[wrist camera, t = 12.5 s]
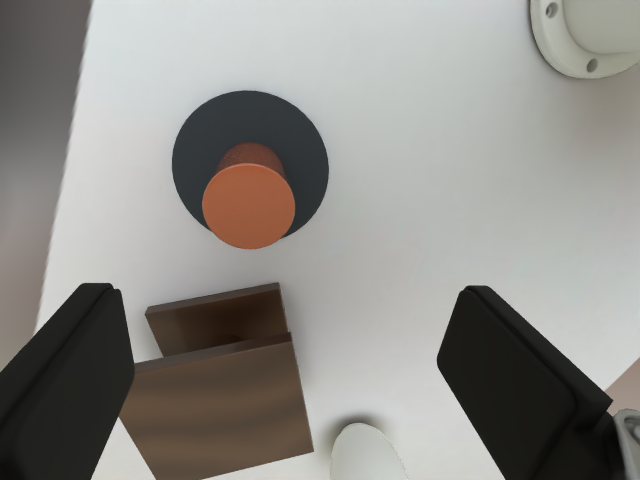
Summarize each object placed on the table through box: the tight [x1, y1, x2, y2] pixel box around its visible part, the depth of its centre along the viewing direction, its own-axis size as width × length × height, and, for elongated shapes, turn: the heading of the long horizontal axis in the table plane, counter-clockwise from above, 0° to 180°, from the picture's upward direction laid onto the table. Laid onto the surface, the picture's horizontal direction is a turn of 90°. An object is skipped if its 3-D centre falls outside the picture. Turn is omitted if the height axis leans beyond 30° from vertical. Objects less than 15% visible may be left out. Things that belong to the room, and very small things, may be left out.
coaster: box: [172, 91, 329, 239], centre depth 24 cm, size 11×11×1 cm
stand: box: [118, 283, 314, 480], centre depth 27 cm, size 12×12×8 cm
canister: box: [202, 142, 295, 249], centre depth 20 cm, size 5×5×7 cm
